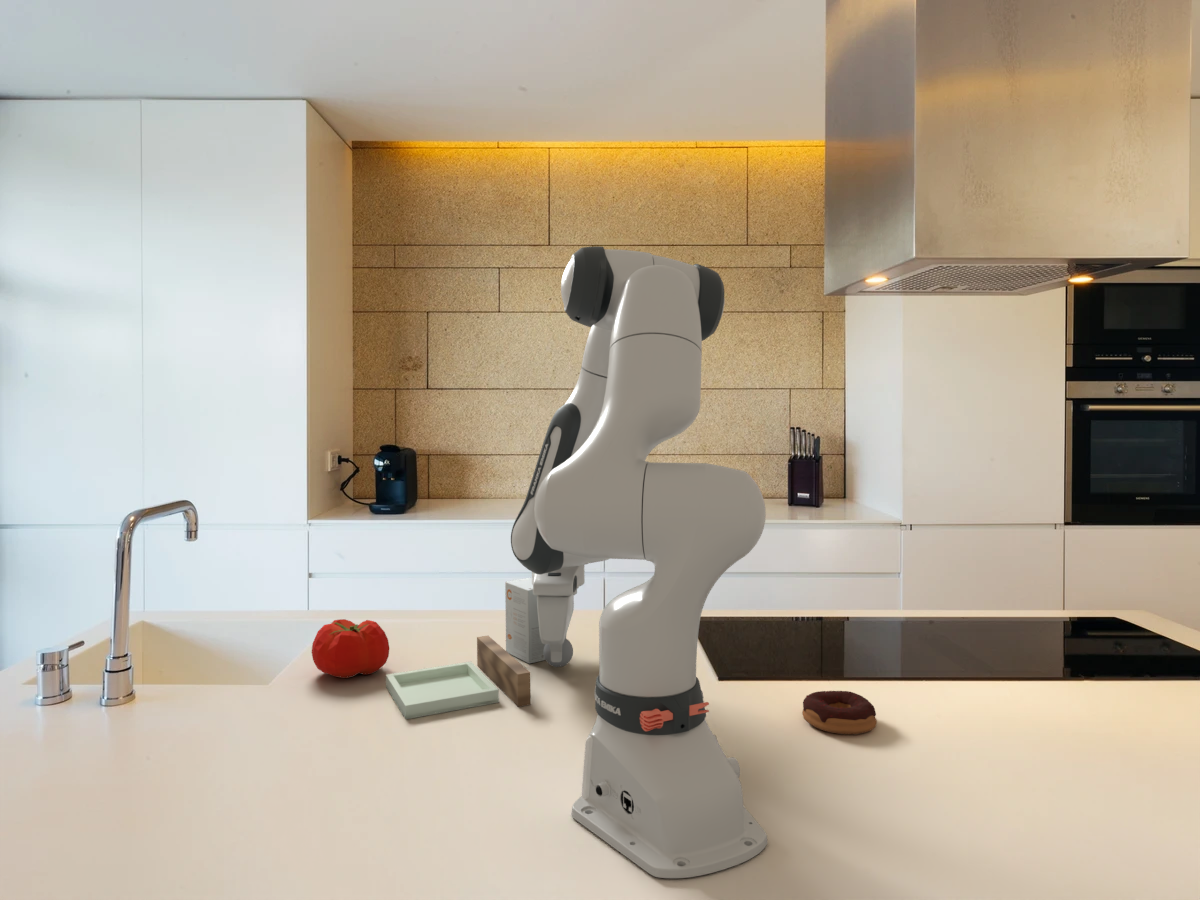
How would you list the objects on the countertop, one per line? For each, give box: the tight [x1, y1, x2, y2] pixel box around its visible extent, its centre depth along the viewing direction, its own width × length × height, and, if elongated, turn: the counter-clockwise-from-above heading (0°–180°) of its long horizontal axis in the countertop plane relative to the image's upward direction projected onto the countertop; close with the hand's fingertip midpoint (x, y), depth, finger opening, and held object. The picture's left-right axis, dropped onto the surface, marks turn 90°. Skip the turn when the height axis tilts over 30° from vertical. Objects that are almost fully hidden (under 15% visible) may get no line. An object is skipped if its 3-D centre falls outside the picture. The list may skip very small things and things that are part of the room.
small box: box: [504, 577, 546, 664], centre depth 142 cm, size 8×6×13 cm
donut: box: [801, 690, 878, 735], centre depth 113 cm, size 10×10×4 cm
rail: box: [476, 635, 532, 708], centre depth 129 cm, size 20×2×5 cm, turn 26°
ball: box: [543, 637, 574, 668], centre depth 135 cm, size 5×5×5 cm
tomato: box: [311, 618, 390, 679], centre depth 134 cm, size 13×12×8 cm
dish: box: [385, 660, 500, 720], centre depth 124 cm, size 14×14×2 cm
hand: (558, 654), depth 135 cm, fingers closed on ball, 5 cm apart
